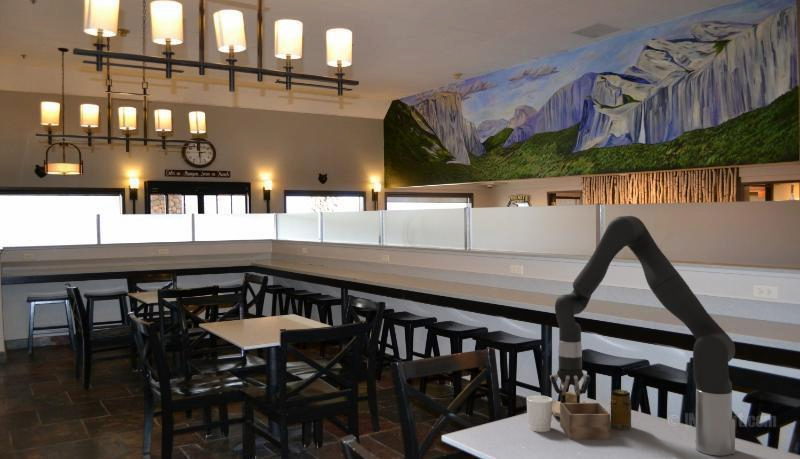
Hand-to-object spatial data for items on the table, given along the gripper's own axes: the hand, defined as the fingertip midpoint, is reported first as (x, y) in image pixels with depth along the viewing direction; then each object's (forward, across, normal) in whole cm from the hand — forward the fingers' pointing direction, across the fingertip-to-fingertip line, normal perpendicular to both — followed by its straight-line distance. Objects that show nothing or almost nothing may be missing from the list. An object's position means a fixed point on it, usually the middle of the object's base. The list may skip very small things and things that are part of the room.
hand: (570, 405), depth 216 cm
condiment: (+4, +13, -14) cm, 20 cm away
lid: (+1, 0, 0) cm, 1 cm away
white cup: (+4, -13, -14) cm, 19 cm away
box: (+4, 0, -18) cm, 18 cm away
